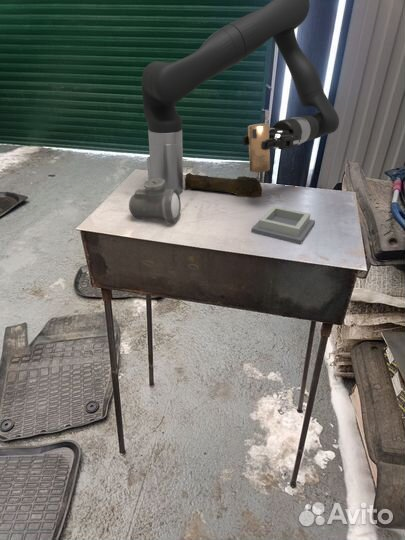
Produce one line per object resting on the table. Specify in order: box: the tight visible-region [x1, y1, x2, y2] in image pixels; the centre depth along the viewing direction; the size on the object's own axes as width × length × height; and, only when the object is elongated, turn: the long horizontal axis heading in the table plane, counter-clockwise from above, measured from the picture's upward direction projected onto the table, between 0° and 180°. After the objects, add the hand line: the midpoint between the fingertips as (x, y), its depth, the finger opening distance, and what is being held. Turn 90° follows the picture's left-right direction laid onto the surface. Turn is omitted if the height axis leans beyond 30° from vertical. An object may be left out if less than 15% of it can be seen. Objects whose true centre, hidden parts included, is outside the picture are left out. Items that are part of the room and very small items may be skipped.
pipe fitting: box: [128, 178, 182, 223], centre depth 94 cm, size 12×8×10 cm
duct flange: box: [250, 205, 316, 245], centre depth 92 cm, size 12×12×3 cm
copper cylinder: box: [247, 123, 271, 173], centre depth 97 cm, size 5×5×11 cm
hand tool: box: [184, 172, 263, 198], centre depth 110 cm, size 23×5×6 cm, turn 70°
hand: (253, 143), depth 95 cm, fingers closed on copper cylinder, 5 cm apart
